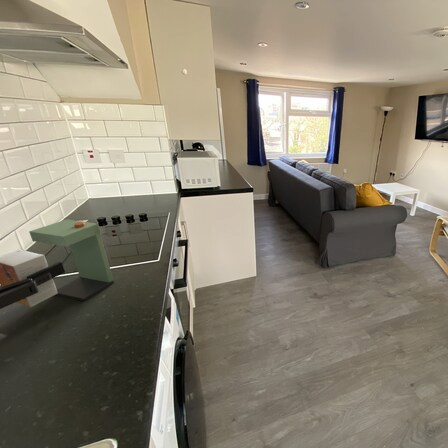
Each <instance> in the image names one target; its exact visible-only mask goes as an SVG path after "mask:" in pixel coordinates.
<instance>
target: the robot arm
mask: <svg viewBox="0 0 448 448" xmlns="http://www.w3.org/2000/svg"><path fill="white" fill-rule="evenodd" d="M65 273H66V270H65V268H64V264H63V262H62V261H58V262H56V263H53V264H51V265H48V267H47V268H45V269H42V270H40V271H38V272H36V273H34V274H31V275H29V276H27V278H28V279H25V280H22V281H19V282H15V283H12V284H9V285H6V286H3V287H1V286H0V310H1V309H4V308H6V307H9V306H11V305H13V304H15V303H17V302H18V301H20V300H22V299H25V298H27V297H29V296H31V295H34V294H36V293H38V292H39V291H38V288H37V286H38V285H40V284H42V283H45V282H47V281H49V280H51V279H53V280H54V279H55V278H56V277H59V276H60V275H63V274H65Z"/></svg>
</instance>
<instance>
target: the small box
mask: <svg viewBox="0 0 448 448" xmlns="http://www.w3.org/2000/svg"><path fill="white" fill-rule="evenodd" d="M47 267H49V265H48V262H47V259H46V256H45V254H42V253H41V254H40V253H35V252H32V251H28V250H25V249H18V250H14V251H12V252H8V253H6V254H3V255H0V287H3V286H6V285H9V284H12V283H15V282H19V281H22V280H25V279H28V278H27V276H29V275H31V274H34V273H36V272H38V271H40V270H42V269H45V268H47ZM37 288H38V291H39V292H38V293H36V294H34V295H31V296H29V297H27V298H25V299H22V300H20V301H18V302H16V304H19V305H23V306H25V307H27V308H32V307H34V306H36V305H38V304H40V303H43V301H45V300H49V299H50V298H52V297H54V296H57V295H56V294H57V287H56V284H55V281H54V278H53V279H51V280H49V281H47V282H45V283H42V284H40V285H38V286H37Z"/></svg>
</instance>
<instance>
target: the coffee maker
mask: <svg viewBox="0 0 448 448" xmlns="http://www.w3.org/2000/svg"><path fill="white" fill-rule="evenodd" d="M28 232H29V235H30V238H31V240H32V242H36V243H42V244H47V245H48V244H49V245H54V246H61V247H69V248H70V252H71V254H72V257H73V260H74V264H75V266H76V269H77V272H78V273H77V274H78V275H79V276H78V277H77V278H76V279H73V280H72V281H69V282H68V283H66V284H64V285H63V286H60V287H58V288H56V290H57V294H56V295H55V296H58V297H62V298H67V299H72V300H76V301H80V302H81V301H83V302H86V301H88V300H89V299H91V298H93V297H94V296H95V295H97V294H98V293H100V292H102V291H103V290H105V289H107V288H108V287H110V286H111V285H112V284H114V283H115V281H114V277H113V273H112V270H111V267H110V263H109V259H108V256H107V252H106V248H105V245H104V241H103V237H102V234H101V230H100V226H99V223H96V222H89V221H81V220H73V219H63V220H61V221H58V222H55V223H51V224H48V225H45V226H42V227H38V228H36V229H35V228H34V229H33V230H29V231H28Z"/></svg>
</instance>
